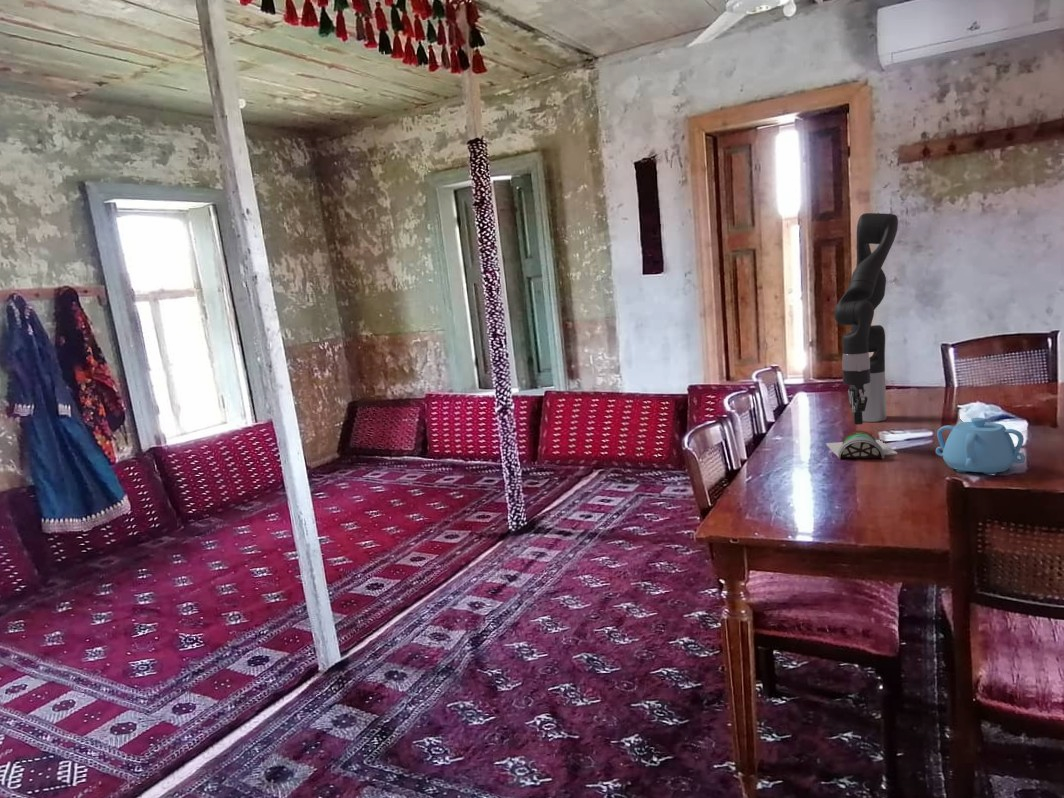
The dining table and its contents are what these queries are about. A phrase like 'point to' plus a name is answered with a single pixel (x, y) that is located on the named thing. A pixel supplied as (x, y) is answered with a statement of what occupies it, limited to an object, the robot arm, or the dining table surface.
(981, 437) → the decorative pot
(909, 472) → the dining table surface
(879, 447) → the food container
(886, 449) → the mat
